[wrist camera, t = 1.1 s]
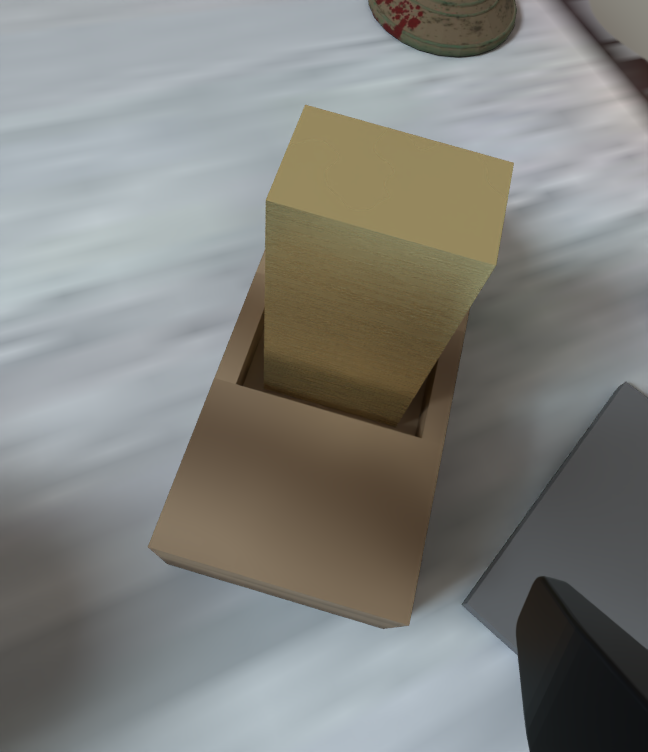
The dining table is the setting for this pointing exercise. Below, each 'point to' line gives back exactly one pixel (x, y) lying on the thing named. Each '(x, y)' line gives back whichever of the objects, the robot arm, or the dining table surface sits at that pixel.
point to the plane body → (307, 487)
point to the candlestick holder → (447, 24)
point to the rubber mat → (583, 529)
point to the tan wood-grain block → (372, 260)
